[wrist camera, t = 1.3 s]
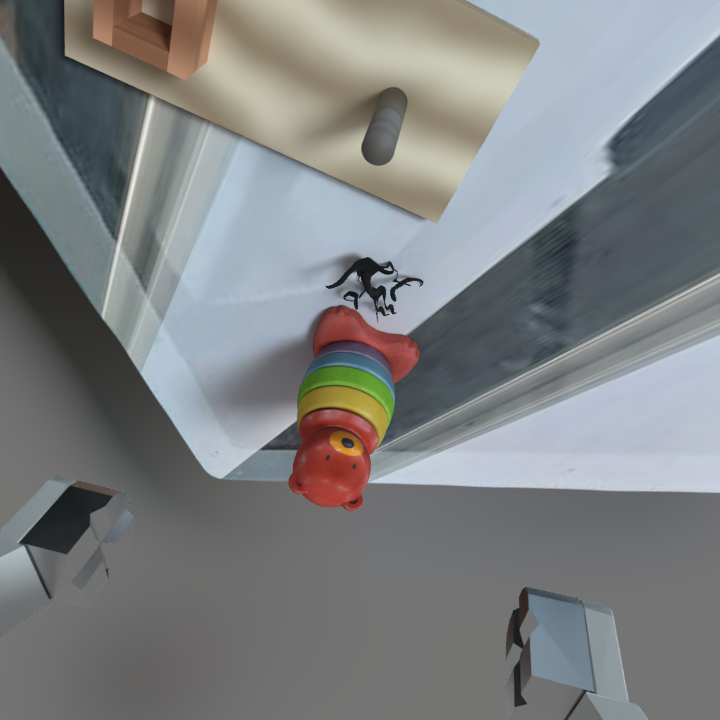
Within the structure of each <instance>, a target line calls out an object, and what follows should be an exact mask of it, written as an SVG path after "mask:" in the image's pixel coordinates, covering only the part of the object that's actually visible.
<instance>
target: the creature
mask: <svg viewBox="0 0 720 720" xmlns="http://www.w3.org/2000/svg"><path fill="white" fill-rule="evenodd" d="M390 265H391V267H392V269H394V267H393V265H392V263H391V262H389V263H388V264H387V265H386V266H379V265H378V264H377V263H376V262H375V261H373V260H372V259H371V258H369V257H366V258H363V259H359V260H358V261H356V262H355V263H354V264H353V265H352V267H350V268H349V269H348V270H347V271H346V272H345V273H344V275H343V276H342V277H341V278H340V279H339V280H338V281H337V282H336V283H334V284H333V285H330V286H326V288H328V289H331V288H335V287H337V286H340V285H341V284H343V283H344V282H345V280H346V279H347V278H348V276H349V275H350V274H351V273H352V272H353V271H355V270H357V269H358V270H357V275H359V278H360V277H361V281H362V283H363V286H364V288H365V290H364V291H363V293H364V292H365V291H366V292H367V293H368V294H369V295H370V297H371V298H372V299H373V300H374V303H375V310H377V311H378V312H380V311H381V313H382V314H383V316H386V315H389V314H386V315H385V311H384V308H383V307H381V306H380V307H379V309H378V308H377V306H376V300H377V305H378V299H379V297H380V296H381V295H383V299H384V304H385V297H386V289H385V287H384V286H382V285H381V286H379V287H378V288H377V289H376V288H374V287H371V283H370V280H371V277H372V276H373V275H374V274H375V273H377V272H378V271H380V272H381V273H383V274H387V275H390V274H393V272H394V270H395V269H394V270H392V271H387V270H384V268H388V267H389V266H390ZM395 271H396V270H395ZM396 272H397V271H396ZM397 276H398V272H397ZM359 278H358V281H359ZM396 278H397V277H396ZM411 281H420V282H422V285H423V281H422V280H421V279H418V278H406V279H404V280H402V281H401V282H399V281H397V280H396V279H395V280H393V282H398V284H396V285H395V286H394V287H392V288H391V290H390V295H391V298H392V300H393V301H396V296H395V290H396V289H398V288H399V287H401V286H403V285H404V284H405V285H408V286H410V285H409V284H406V283H407V282H411ZM360 283H361V282H360ZM362 283H361V284H362ZM422 285H421V286H422ZM363 293H362V294H363ZM362 294H361V295H360V296H359V295H358V294H357V293H356V292H352V291H349V292H347V293H346V294H345V295H344V296H343V297H344V299H345V297H347V296H348V295H350V296H352V297H355V299H354V306H355V309H356V310H357V309H358V296H359V298H360V297H361V296H362ZM345 300H347V299H345ZM347 301H350V300H347ZM385 308H386V310H389V309H390V310H391V313H392V314H396V312H395V313H394V307H393V305H392V304H390V305H389V306H388V307H387V306H386V304H385ZM376 315H377V313H376ZM377 321H378V316H377Z"/></svg>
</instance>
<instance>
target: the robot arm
mask: <svg viewBox="0 0 720 720" xmlns="http://www.w3.org/2000/svg"><path fill="white" fill-rule="evenodd" d="M129 504H130V502H129V499H128V496H127V493H126V492H122V491H118V490H114V489H110V488H106V487H102V486H98V485H94V484H90V483H86V482H82V481H79V480H74V479H71V478H67V477H62V476H58V475H57V476H55V477H53V478H51V479H49V480H48V481H47V482H46V483H45V484H44V485H43V486H42V487H41V488H40V489H39V490H38V491H37V492H36V493H35V494H34V495H33V496H32V498H31V499H30V500H29V501H28V502H27V503H26V504H25V505H24V506H23V507H22V508H21V509H20V510H19V511H18V512H17V513H16V514H15V515H14V516H13V517H12V519H11V520H10V521H9V522H8V523H7V524H6V525H5V526H4V527H3V528H2V529H1V530H0V637H2V636H3V635H5V634H6V633H8V632H9V631H10V630H12V629H13V628H15V627H16V626H18V625H19V624H21V623H22V622H23V621H25V620H26V619H28V618H29V617H31V616H32V615H34V614H35V613H37V612H38V611H39V610H41V609H42V608H44V607H45V606H47V605H48V604H49V603H50V601H55V602H59V603H63V604H67V605H72V606H75V607H80V608H84V609H90V607H91V606H92V604H93V603H94V601H95V600H96V598H97V597H98V596H99V594H100V592H101V591H102V590H103V588H104V587H105V585H106V584H107V582H108V581H109V574H108V569H109V568H111V567H113V566H115V565H116V564H118V563H120V562H121V561H122V560H123V559H124V557H125V556H126V554H127V553H128V551H129V549H130V547H131V544H132V541H133V539H134V536H135V521H134V517H132V515H131V514H130V513H129V512H128V511H127V510H126V508H127V507H128V505H129ZM49 600H50V601H49ZM506 662H507V664H508V665H509V667H510V669H511V670H512V673H511V675H510V677H509V679H508V682H507V684H506V720H648V719H647V717H646V716H645V714H644V713H643V712H642V710H641V709H640V707H639V706H638V705H636V704H633V703H630V702H629V701H628V695H627V689H626V684H625V678H624V673H623V667H622V661H621V656H620V650H619V644H618V639H617V633H616V628H615V622H614V617H613V613H612V611H611V609H610V608H609V607H608V606H606V605H601V604H597V603H592V602H588V601H583V600H579V599H578V598H574V597H569V596H565V595H560V594H556V593H551V592H547V591H542V590H538V589H533V588H529V587H525V588H523V589H522V591H521V594H520V596H519V608H517V609H515V610H513V612H512V615H511V618H510V621H509V625H508V630H507V638H506Z"/></svg>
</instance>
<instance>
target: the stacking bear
mask: <svg viewBox="0 0 720 720" xmlns="http://www.w3.org/2000/svg"><path fill="white" fill-rule="evenodd" d="M313 352H314V360H313V362H312V364H311V365H310V367H309V368H308V370H307V372H306V374H305V376H304V378H303V380H302V383H301V386H300V389H299V394H298V403H297V407H298V412H297V424H298V430H299V435H300V437H301V440H302V442H303V443H302V444H301V446H300V447H299V449H298V451H297V453H296V456H295V459H294V463H293V474H292V475H291V476H290V478H289V486H290V488H291V490H292V491H293V492H295V493H297V494H303V496H305V497H306V498H307V499H308V500H309V501H311V502H312V503H314V504H316V505H319V506H323V507H339V506H343V507H344V508H345V509H346V510H349V511H354V510H357V509H359V508H360V507H361V505H362V503H363V499H362V495H361V493H362V492H363V490H364V488H365V487H366V485H367V482H368V479H369V476H370V470H371V461H370V456H369V455H370V454H371V453H373V452H374V450H375V449H376V448H377V447H378V446H379V445H380V443H381V441H382V439H383V437H384V435H385V433H386V430H387V428H388V426H389V424H390V421H391V418H392V415H393V411H394V403H395V391H394V383H396V382H397V381H399V380H400V379H402V378H403V377H404V376H406V375H407V374H408V373H409V372H410V371H411V370H412V368H413V367H414V366H415V365H416V363H417V361H418V359H419V356H420V351H419V349H418V345H417V343H416V342H415V341H413V340H411V339H410V338H409V337H407V336H404V335H398V334H387V333H383V332H380V331H378V330H376V329H374V328H372V327H371V326H369V325H368V324H367V323H366V322H365V320H364V319H363V318H362V316H361V315H360V314H359V313H358V312H357V311H355V310H353V309H350V308H348V307H346V306H339V307H332V308H330V309H328V310H327V311H326V312H325V313H324V315H323V316H322V318H321V319H320V321H319V323H318V325H317V328H316V331H315V335H314V342H313Z"/></svg>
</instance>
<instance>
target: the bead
mask: <svg viewBox="0 0 720 720" xmlns="http://www.w3.org/2000/svg"><path fill="white" fill-rule="evenodd" d="M216 6H217V0H175V8H174V16H173V25H172V26H171V25H168V24H166V23H164V22H162V21H160V20H158V19H156V18H154V17H152V16H150V15H147V14H145V13H143V12H142V0H94V15H93V38H95V39H97V40H99V41H101V42H103V43H105V44H108V45H110V46H112V47H114V48H116V49H118V50H121V51H123V52H125V53H127V54H129V55H131V56H134V57H136V58H138V59H140V60H142V61H145V62H147V63H149V64H151V65H153V66H155V67H158V68H160V69H162V70H164V71H166V72H168V73H171V74H173V75H175V76H177V77H179V78H181V79H184V80H186V79H187V78H188V77H189V76H191V75H192V74H193V73H194V72H195V71H197V70H198V69H199V68H200V67H202V66H203V65H204V64H205V63H206V62H207V60H208V54H209V48H210V42H211V36H212V30H213V24H214V18H215V12H216Z"/></svg>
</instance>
